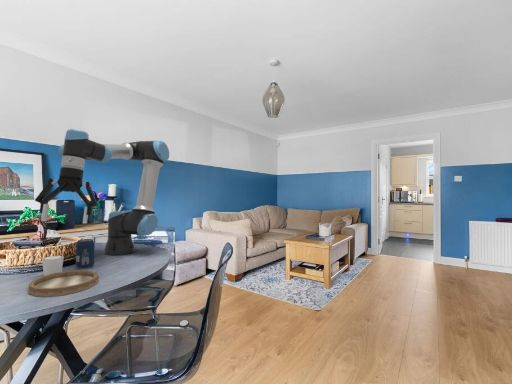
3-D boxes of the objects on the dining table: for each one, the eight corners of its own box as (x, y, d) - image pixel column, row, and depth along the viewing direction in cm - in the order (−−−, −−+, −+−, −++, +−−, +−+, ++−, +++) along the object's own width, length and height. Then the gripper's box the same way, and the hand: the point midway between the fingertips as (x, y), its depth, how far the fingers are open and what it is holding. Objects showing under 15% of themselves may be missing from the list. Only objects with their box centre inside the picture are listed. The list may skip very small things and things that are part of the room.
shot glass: (51, 278, 101) (51, 260, 101) (37, 276, 103) (37, 259, 103) (67, 273, 108) (67, 256, 108) (53, 271, 110) (54, 254, 110)
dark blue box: (87, 263, 122) (88, 238, 122) (97, 265, 119) (98, 239, 119) (72, 267, 116) (72, 240, 116) (82, 269, 113) (82, 242, 113)
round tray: (91, 273, 109) (91, 267, 109) (104, 286, 94) (104, 280, 94) (27, 284, 95) (27, 277, 95) (30, 301, 80) (31, 294, 80)
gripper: (29, 162, 96) (20, 220, 94) (105, 170, 104) (98, 224, 101) (39, 166, 104) (30, 220, 101) (109, 173, 111) (103, 223, 108)
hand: (64, 222), depth 101 cm, fingers open, 13 cm apart
